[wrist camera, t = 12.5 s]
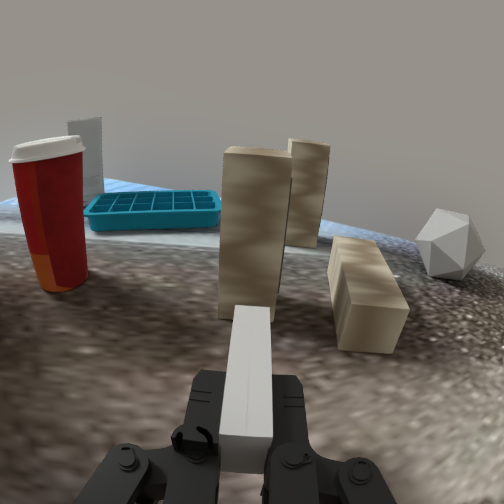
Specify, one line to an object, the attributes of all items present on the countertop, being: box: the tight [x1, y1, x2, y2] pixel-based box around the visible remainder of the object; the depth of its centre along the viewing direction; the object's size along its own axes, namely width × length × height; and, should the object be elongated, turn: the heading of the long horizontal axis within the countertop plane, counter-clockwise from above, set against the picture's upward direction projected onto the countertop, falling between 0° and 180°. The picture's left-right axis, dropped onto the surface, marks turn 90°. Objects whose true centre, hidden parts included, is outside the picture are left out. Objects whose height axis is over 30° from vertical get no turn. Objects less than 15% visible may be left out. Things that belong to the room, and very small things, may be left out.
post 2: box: [285, 138, 330, 248], centre depth 39 cm, size 5×4×13 cm
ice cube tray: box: [83, 190, 221, 231], centre depth 46 cm, size 12×20×3 cm, turn 103°
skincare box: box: [67, 117, 104, 207], centre depth 49 cm, size 8×7×16 cm
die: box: [415, 209, 485, 281], centre depth 34 cm, size 8×9×10 cm
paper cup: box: [8, 135, 88, 292], centre depth 25 cm, size 8×8×14 cm
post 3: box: [327, 235, 410, 354], centre depth 27 cm, size 5×4×13 cm
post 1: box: [218, 146, 293, 322], centre depth 24 cm, size 5×4×13 cm
